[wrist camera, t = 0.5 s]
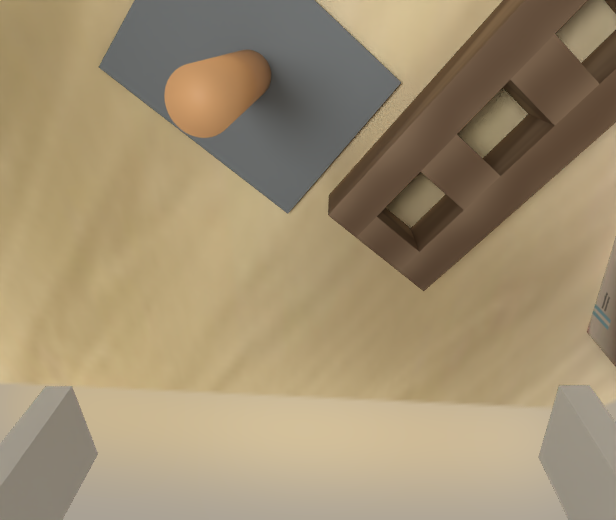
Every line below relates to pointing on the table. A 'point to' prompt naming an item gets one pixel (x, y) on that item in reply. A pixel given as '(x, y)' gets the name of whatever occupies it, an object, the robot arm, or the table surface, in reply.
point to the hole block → (461, 157)
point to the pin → (215, 91)
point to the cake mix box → (606, 311)
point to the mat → (280, 94)
